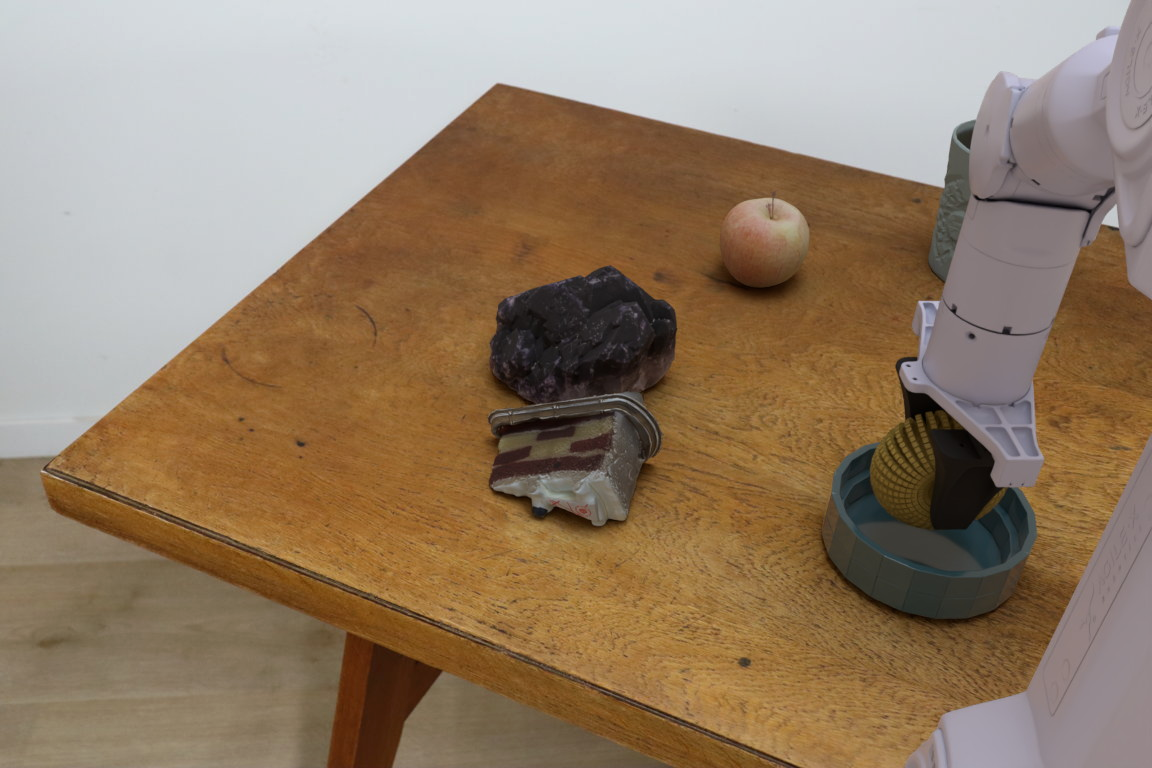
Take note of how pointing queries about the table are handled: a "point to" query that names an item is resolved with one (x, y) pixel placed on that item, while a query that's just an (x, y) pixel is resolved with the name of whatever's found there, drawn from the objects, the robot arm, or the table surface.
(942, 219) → the green vase
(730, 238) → the fruit
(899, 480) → the sculpture
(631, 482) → the chocolate cake
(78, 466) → the table surface
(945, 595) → the bowl
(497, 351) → the crystal cluster
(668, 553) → the table surface
